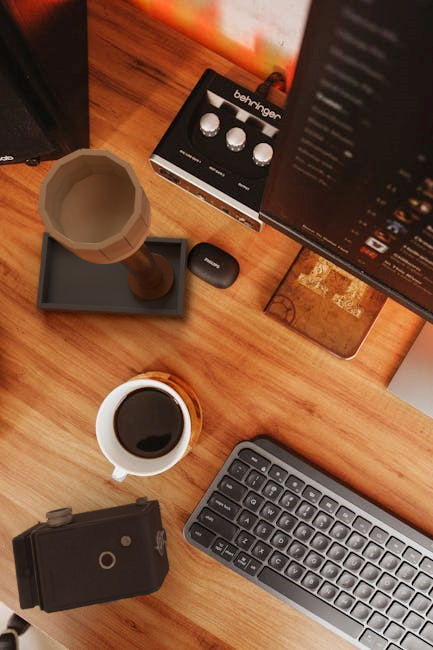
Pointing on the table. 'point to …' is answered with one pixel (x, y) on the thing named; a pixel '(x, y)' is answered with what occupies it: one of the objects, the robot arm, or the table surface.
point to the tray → (107, 282)
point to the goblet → (104, 217)
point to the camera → (91, 557)
